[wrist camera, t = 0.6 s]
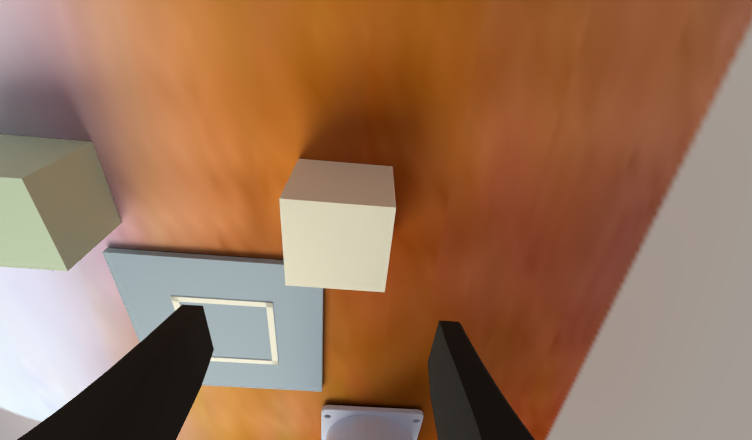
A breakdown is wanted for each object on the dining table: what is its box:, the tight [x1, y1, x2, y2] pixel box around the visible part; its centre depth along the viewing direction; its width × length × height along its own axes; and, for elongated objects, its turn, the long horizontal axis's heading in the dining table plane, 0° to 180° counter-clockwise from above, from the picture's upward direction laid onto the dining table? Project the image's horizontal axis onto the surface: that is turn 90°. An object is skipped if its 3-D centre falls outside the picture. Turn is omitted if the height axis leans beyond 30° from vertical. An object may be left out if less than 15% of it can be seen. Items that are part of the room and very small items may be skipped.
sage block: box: [0, 134, 122, 271], centre depth 16 cm, size 4×4×4 cm
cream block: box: [279, 159, 396, 292], centre depth 17 cm, size 4×4×4 cm
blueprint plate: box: [103, 248, 324, 392], centre depth 23 cm, size 12×12×1 cm
